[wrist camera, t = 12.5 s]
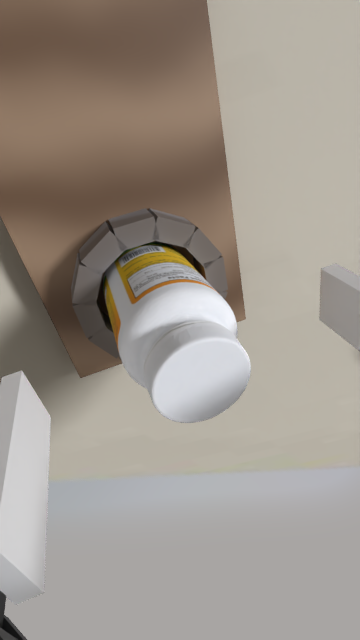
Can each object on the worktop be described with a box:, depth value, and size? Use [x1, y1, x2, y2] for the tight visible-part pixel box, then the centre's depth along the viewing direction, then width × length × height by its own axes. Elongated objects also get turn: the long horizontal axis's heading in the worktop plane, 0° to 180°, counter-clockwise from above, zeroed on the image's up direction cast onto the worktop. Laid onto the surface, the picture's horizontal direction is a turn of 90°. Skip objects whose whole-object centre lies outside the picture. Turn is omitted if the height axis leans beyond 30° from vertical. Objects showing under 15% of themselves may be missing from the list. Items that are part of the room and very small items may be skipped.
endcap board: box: [0, 0, 246, 378], centre depth 17 cm, size 22×12×4 cm, turn 12°
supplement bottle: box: [103, 241, 251, 423], centre depth 17 cm, size 5×5×10 cm
